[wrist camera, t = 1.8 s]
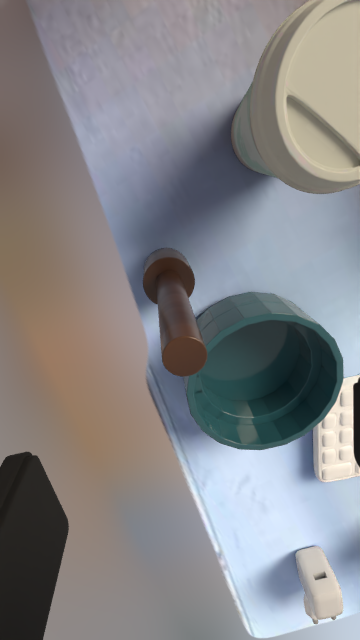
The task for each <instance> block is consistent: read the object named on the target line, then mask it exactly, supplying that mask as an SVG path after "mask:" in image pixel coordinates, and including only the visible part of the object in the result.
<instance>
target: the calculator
mask: <svg viewBox="0 0 360 640" xmlns="http://www.w3.org/2000/svg"><path fill="white" fill-rule="evenodd" d="M359 377H360V375H357V376H352V377H347V378H343V383H342V386H341V389H340V392H339V395H338V398H337V401H336V403H335V404H334V406H333V407H332V408H331V410H330V411H329V413H328V414H327V415H326V417H325V418H324V420H322V421H321V422H320V423H319V424H318V425H316V426H315V427H314V428H313V461H314V472H315V475H316V477H317V478H318V479H319V480H320V481H321V482H331V481H337V480H342V479H347V478H352V477H357V476H360V467H359V466H358V464H357V462H356V460H355V457H354V442H353V385H354V383H357V382H358V378H359Z"/></svg>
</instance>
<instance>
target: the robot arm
mask: <svg viewBox="0 0 360 640" xmlns="http://www.w3.org/2000/svg"><path fill="white" fill-rule="evenodd" d="M353 442H354V457H355V460H356V462H357V464H358V466H359V467H360V377H359V378H358V382H357V383H354V385H353ZM68 527H69V526H68V519H67V517H66V515H65V513H64V510H63V508H62V506H61V504H60V502H59V500H58V498H57V496H56V494H55V492H54V489H53V487H52V485H51V483H50V481H49V479H48V477H47V475H46V472H45V470H44V468H43V466H42V464H41V462H40V460H39V458H38V457H37V456H33V455H32V454H31V453H30V452H24V453H20V454H15V455H10V456H8V457H6V458H5V460H4V461H3V463H2V465H1V467H0V640H43V636H44V632H45V628H46V624H47V619H48V615H49V611H50V606H51V602H52V598H53V594H54V590H55V586H56V582H57V577H58V573H59V569H60V565H61V560H62V556H63V552H64V548H65V543H66V539H67V535H68Z"/></svg>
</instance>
